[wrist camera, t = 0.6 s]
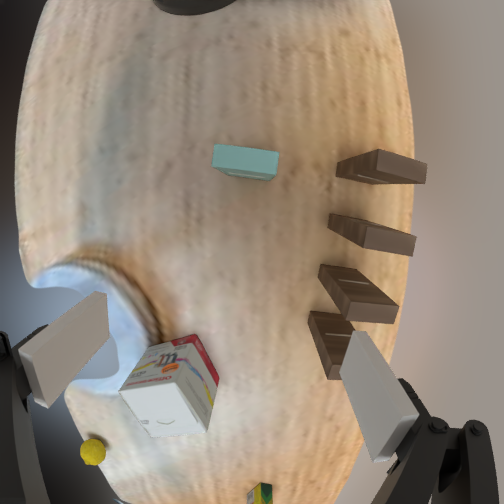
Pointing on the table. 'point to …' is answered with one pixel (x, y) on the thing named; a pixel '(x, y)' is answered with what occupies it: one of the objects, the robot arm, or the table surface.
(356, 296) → the domino
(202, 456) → the table surface
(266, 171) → the domino
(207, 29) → the table surface
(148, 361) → the ink box
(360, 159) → the domino
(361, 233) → the domino
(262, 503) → the crayon box
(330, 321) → the domino
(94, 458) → the fruit
